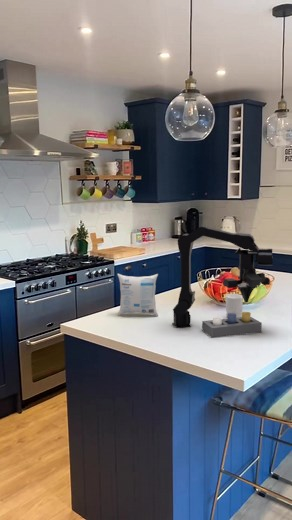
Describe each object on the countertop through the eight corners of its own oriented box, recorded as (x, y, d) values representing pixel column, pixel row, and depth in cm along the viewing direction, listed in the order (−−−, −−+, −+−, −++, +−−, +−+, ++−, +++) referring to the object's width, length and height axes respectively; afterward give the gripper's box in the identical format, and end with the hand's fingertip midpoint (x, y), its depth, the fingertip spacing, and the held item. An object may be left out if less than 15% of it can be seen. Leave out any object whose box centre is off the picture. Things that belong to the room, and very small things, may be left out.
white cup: (222, 318, 206) (223, 297, 205) (228, 314, 213) (228, 293, 212) (239, 320, 203) (240, 298, 201) (244, 316, 210) (245, 295, 208)
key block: (212, 337, 181) (212, 328, 180) (202, 330, 190) (202, 321, 189) (261, 332, 186) (261, 322, 186) (249, 325, 196) (249, 316, 195)
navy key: (229, 325, 185) (229, 315, 185) (225, 322, 189) (225, 313, 188) (237, 324, 186) (237, 315, 186) (233, 321, 190) (233, 312, 189)
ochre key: (244, 323, 187) (244, 314, 187) (240, 321, 191) (240, 312, 190) (251, 322, 188) (252, 313, 187) (247, 320, 192) (247, 311, 191)
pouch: (156, 318, 208) (156, 276, 204) (116, 317, 211) (115, 275, 208) (159, 314, 215) (159, 272, 212) (120, 312, 219) (119, 271, 216)
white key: (215, 330, 184) (215, 320, 183) (211, 327, 187) (211, 318, 187) (223, 329, 185) (223, 319, 184) (219, 326, 188) (219, 317, 188)
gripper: (234, 269, 175) (234, 309, 178) (277, 266, 180) (276, 304, 183) (222, 265, 186) (222, 302, 188) (263, 262, 191) (262, 298, 193)
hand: (246, 302), depth 188 cm, fingers closed
